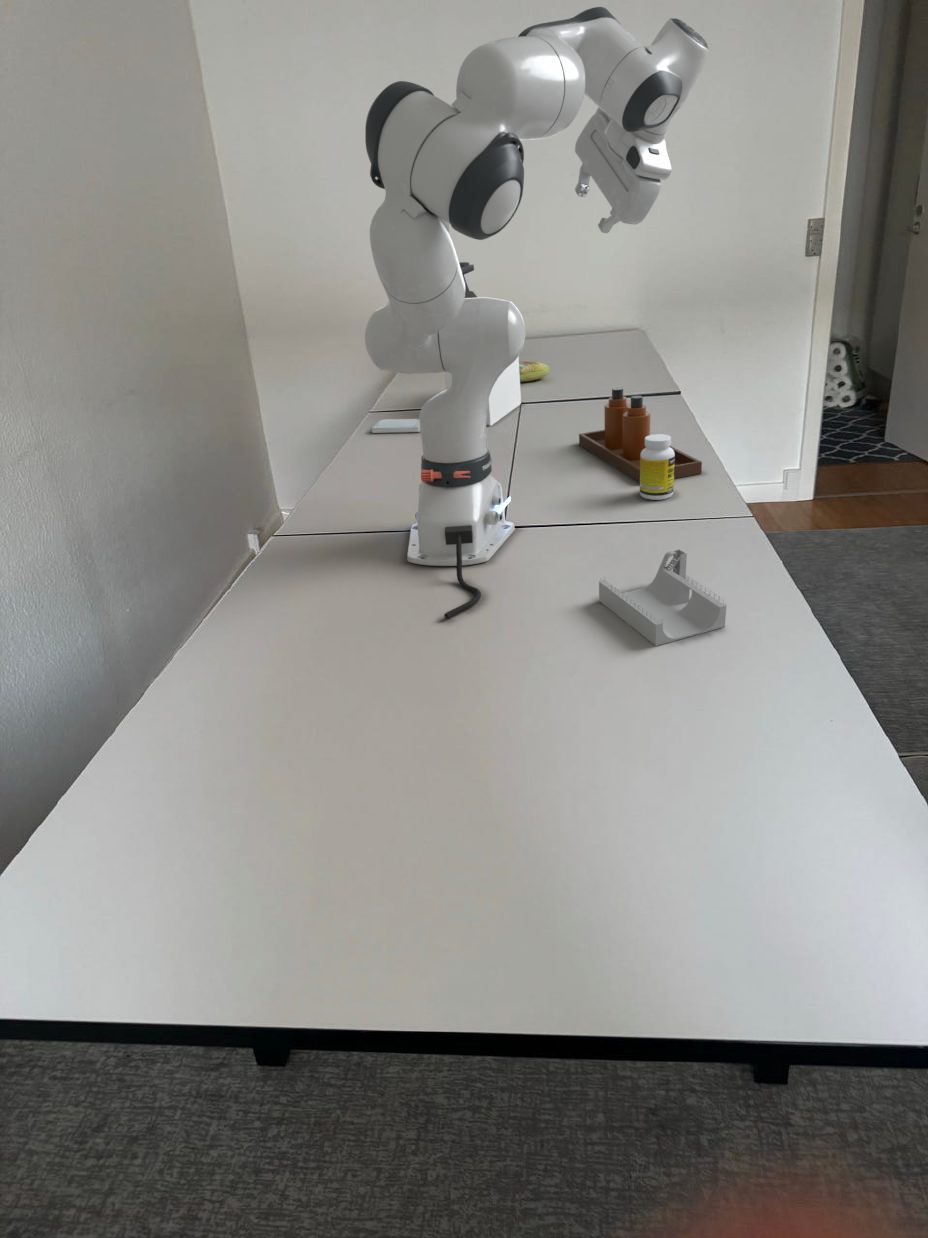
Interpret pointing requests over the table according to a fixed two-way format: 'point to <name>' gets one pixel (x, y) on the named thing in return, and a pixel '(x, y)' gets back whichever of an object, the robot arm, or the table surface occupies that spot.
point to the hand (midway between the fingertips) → (590, 211)
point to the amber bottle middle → (635, 428)
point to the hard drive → (396, 426)
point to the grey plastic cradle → (666, 604)
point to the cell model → (532, 370)
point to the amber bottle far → (615, 419)
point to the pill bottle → (657, 468)
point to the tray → (596, 445)
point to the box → (501, 393)
